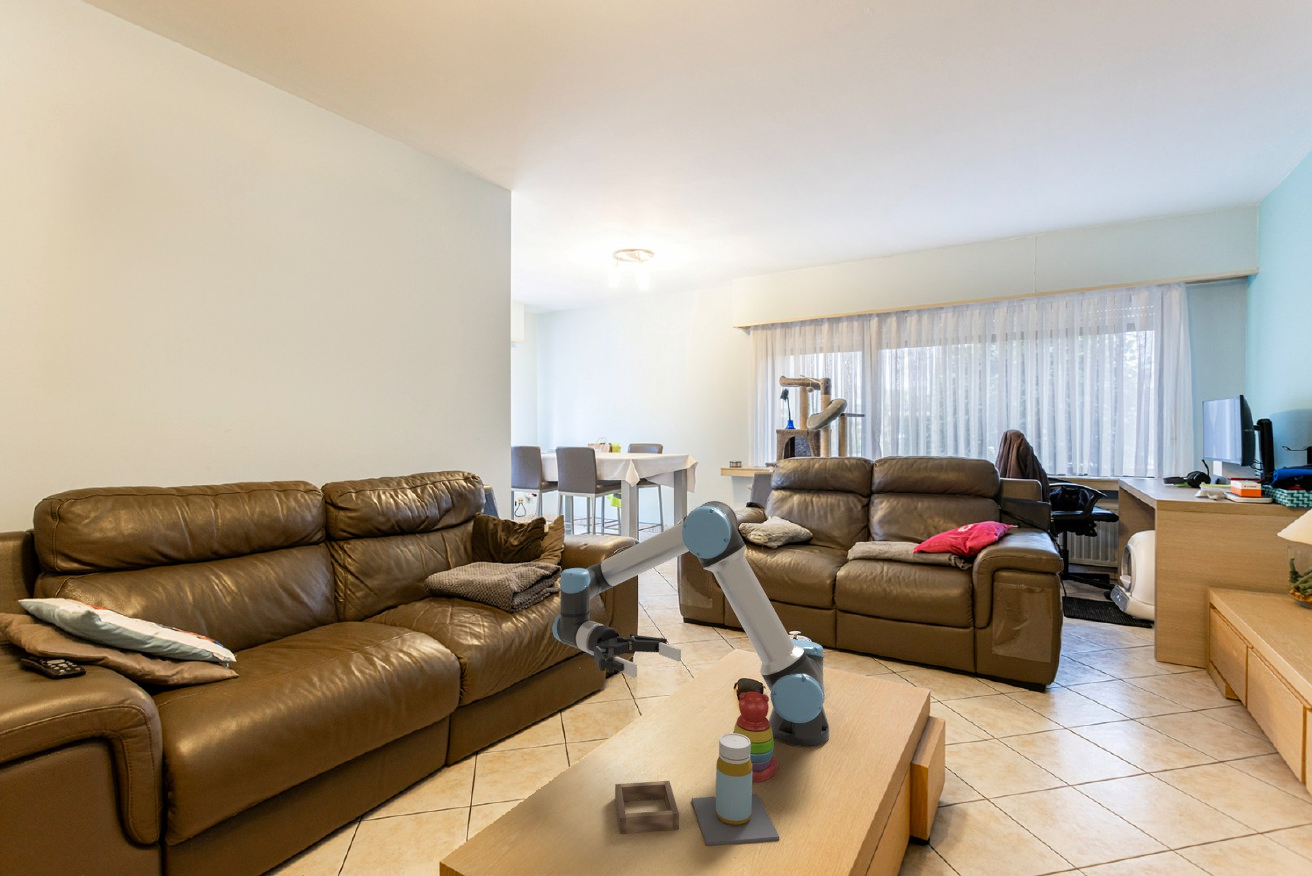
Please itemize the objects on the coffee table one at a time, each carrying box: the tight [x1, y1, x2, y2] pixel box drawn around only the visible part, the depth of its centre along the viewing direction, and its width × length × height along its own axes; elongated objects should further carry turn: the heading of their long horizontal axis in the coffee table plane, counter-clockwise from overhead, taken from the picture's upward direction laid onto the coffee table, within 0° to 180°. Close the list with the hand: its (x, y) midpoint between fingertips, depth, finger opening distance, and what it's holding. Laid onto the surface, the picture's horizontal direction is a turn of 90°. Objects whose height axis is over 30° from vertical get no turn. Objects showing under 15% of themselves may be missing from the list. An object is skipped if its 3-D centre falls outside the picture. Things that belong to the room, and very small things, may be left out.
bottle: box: [715, 732, 753, 826], centre depth 124 cm, size 7×7×15 cm
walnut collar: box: [614, 780, 680, 835], centre depth 125 cm, size 11×11×3 cm
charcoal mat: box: [691, 793, 780, 846], centre depth 124 cm, size 14×14×1 cm
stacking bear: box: [732, 691, 778, 783], centre depth 142 cm, size 11×10×18 cm
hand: (658, 662), depth 139 cm, fingers open, 13 cm apart
